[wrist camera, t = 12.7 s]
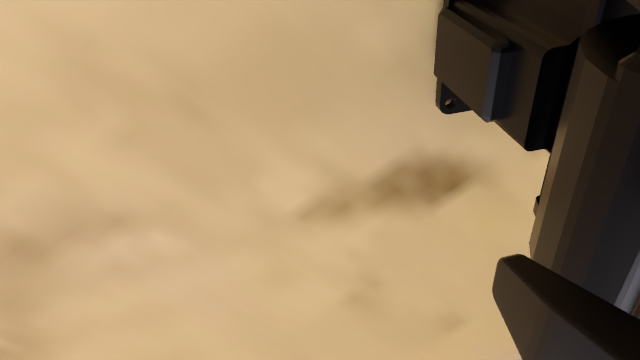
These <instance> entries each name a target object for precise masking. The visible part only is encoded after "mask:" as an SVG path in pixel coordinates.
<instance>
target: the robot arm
mask: <svg viewBox="0 0 640 360" xmlns="http://www.w3.org/2000/svg"><path fill="white" fill-rule="evenodd" d="M434 75H435V76H436V77H437V89H436V106H437V107H438V109H439V110H440V111H441V112H442V113H444V114H453V113H459V112H465V111H470V110H473V111H474V112H475V113H476V114H477V115H478V116H479V117H480V118H482V119H483V120H484V121H485V122H493V121H494V122H495V123H496V124H497V125H499V126H500V127H501V128H502V129H503V130H504V131H505V132H506V133H507V134H509V135H510V136H511V137H512V138H513V139H514V140H515V141H516V142H517V143H518V144H520V145H521V146H522V147H523V148H524V149H525V150H526V151H535V150H540V149H545V150H546V151H547V152H549V153H550V157H549V161H548V165H547V169H546V173H545V177H544V181H543V185H542V189H541V193H540V196H537V198H536V201H535V205H534V209H533V212H534V214H535V217H536V218H535V222H534V226H533V230H532V233H531V237H530V241H529V245H530V257H531V259H530V258H528V257H526V256H524V255H521V254H515V255H511V256H506V257H502V258H500V259H499V261H498V263H497V267H496V272H495V277H494V282H493V287H492V292H493V297H494V300H495V302H496V304H497V306H498V308H499V310H500V313H501V315H502V317H503V319H504V321H505V323H506V325H507V328H508V330H509V332H510V334H511V336H512V338H513V340H514V343H515V345H516V347H517V349H518V351H519V353H520V355H521V358H522V360H640V0H444V7H443V9H442V10H441V12H440V13H439V15H438V27H437V39H436V52H435V64H434ZM450 98H452V100H451V102H450V103H449V104H447V105H445V103H446V101H447V100H448V99H450Z"/></svg>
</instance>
